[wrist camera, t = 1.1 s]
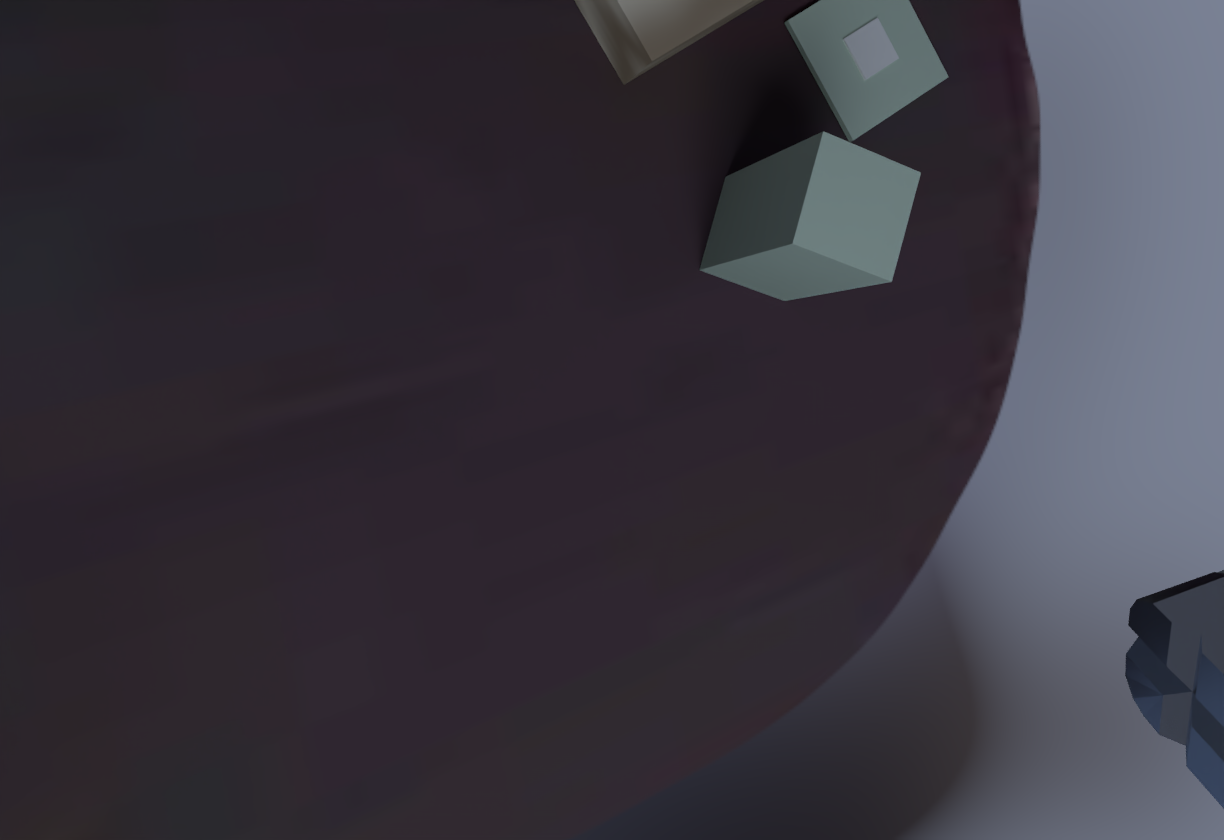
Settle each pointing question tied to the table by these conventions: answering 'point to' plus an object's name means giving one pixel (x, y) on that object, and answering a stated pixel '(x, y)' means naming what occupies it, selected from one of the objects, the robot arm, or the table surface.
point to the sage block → (811, 220)
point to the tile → (866, 58)
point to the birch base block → (654, 28)
